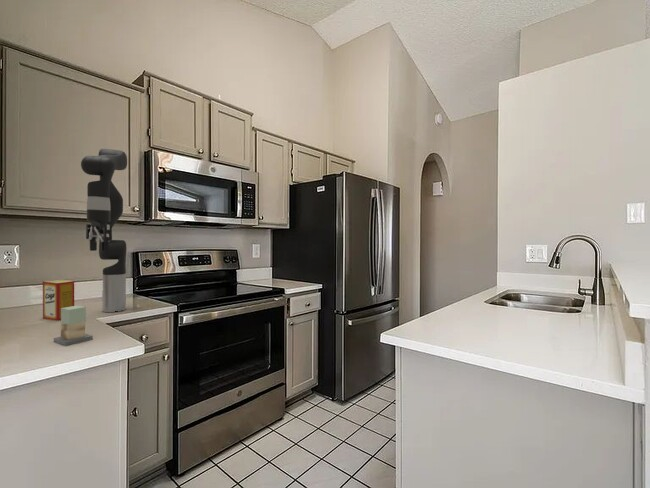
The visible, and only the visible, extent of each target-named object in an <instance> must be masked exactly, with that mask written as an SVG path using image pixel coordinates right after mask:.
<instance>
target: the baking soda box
mask: <svg viewBox="0 0 650 488" xmlns="http://www.w3.org/2000/svg"><path fill="white" fill-rule="evenodd" d="M71 306H75V281H74V280H66V279H57V280H56V279H55V280H46V281H45V280H44V281H42V319H43V320H49V321H57V322H59V321H61V308H65V307H71Z"/></svg>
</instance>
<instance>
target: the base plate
mask: <svg viewBox="0 0 650 488" xmlns="http://www.w3.org/2000/svg"><path fill="white" fill-rule="evenodd" d="M91 340H94V339H93V335H91V334H87V333H85V336H84V337H80V338H76V339H71V340H66V339H63V338H61V336H57V337H54V338H53V342H54V343H57V344H59V345H61V346H64V347H66V346H70V345H74V344H79V343H82V342H87V341H91Z"/></svg>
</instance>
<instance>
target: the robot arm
mask: <svg viewBox="0 0 650 488" xmlns="http://www.w3.org/2000/svg"><path fill="white" fill-rule="evenodd" d="M80 167H81V170H82V172H84V174H87V175H89V176H99V180H94V181H93V180H92V181H89V182H88V183H87V188H86V189H87V190H86V191H87V192H86V193H87V197H86V198H87V199H86V221H87V222H90V223H87V224H85V225H86V227H85V229H86V230H85V231H86V232H85V238H86V240H88V241H89V251H91V252H92V251H93V252H97V251H98V256H99V259H100V260H103V261H108V260H109V261H111V260H113V261H115V260H116V261H117V262H115V264H112V265H109V266H107V267H103V269H102V294H101V295H102V296H101V298H102V305H101V306H102V308H101V309H102V312H104V313H116V312H115V311H118V312H122V311H121V310H123V311H125V310H126V309H127V282H126V281H127V269H126V268H127V265H126V263H127V242H126V240H123V239H113V228H114V226H115V225H116V223H117V222H118V220H119V219H120V218H121V217H122V214H123V212H124V199H123V196H122V194H121V193H120V191H119V190H118V188H117V187H116V186H115V185H114V183H113V181H112V179H113V176H114V174H115V171H124V170H126V168H127V167H128V156H127V154H126V152H124V151H123V150H119V149H111V148H109V149H108V148H100V149H99V152H98V155H86V156H84V157H83V158H82V159H81V162H80ZM98 239H99V240H98ZM97 242H98V243H97ZM97 249H98V250H97Z"/></svg>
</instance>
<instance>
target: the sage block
mask: <svg viewBox="0 0 650 488" xmlns="http://www.w3.org/2000/svg"><path fill="white" fill-rule="evenodd" d="M86 315H87V308H86V306H82V305H74V306H71V307H65V308H61V320H60V324H61V323H63V324H67V325H72V324H76V323H81V322H85V323H86V322H87V316H86Z"/></svg>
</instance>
